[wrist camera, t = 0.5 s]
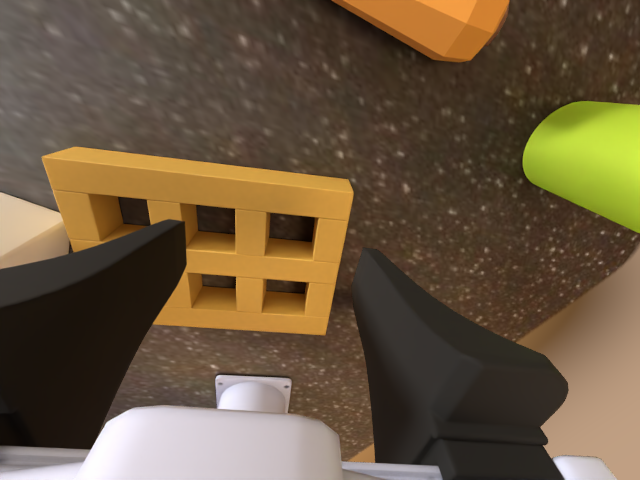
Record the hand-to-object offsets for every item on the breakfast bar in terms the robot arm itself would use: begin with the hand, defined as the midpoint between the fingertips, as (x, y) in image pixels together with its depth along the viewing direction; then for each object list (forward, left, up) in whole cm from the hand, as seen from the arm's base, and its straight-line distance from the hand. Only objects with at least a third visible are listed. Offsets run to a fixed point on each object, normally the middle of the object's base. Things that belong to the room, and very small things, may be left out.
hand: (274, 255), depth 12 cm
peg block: (-6, +5, -10) cm, 12 cm away
